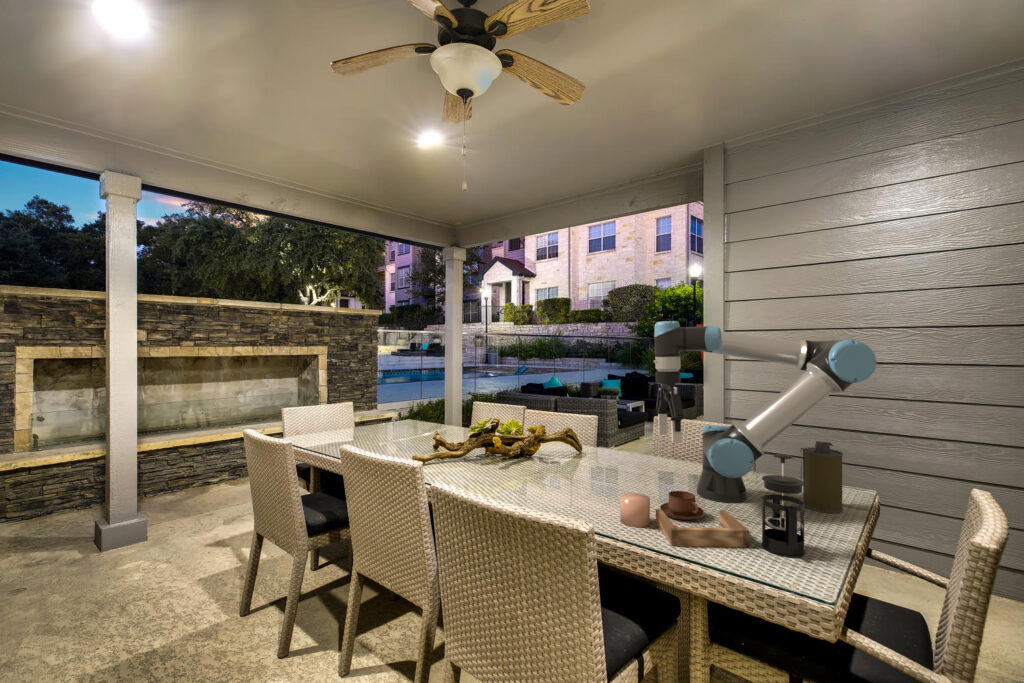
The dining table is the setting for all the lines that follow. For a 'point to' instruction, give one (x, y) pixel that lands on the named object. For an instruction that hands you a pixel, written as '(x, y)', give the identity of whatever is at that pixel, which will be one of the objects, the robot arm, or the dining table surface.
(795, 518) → the french press
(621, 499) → the peach rounded capsule
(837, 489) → the canister
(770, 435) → the robot arm
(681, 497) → the cup and saucer
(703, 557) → the dining table surface
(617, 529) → the dining table surface
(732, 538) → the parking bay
